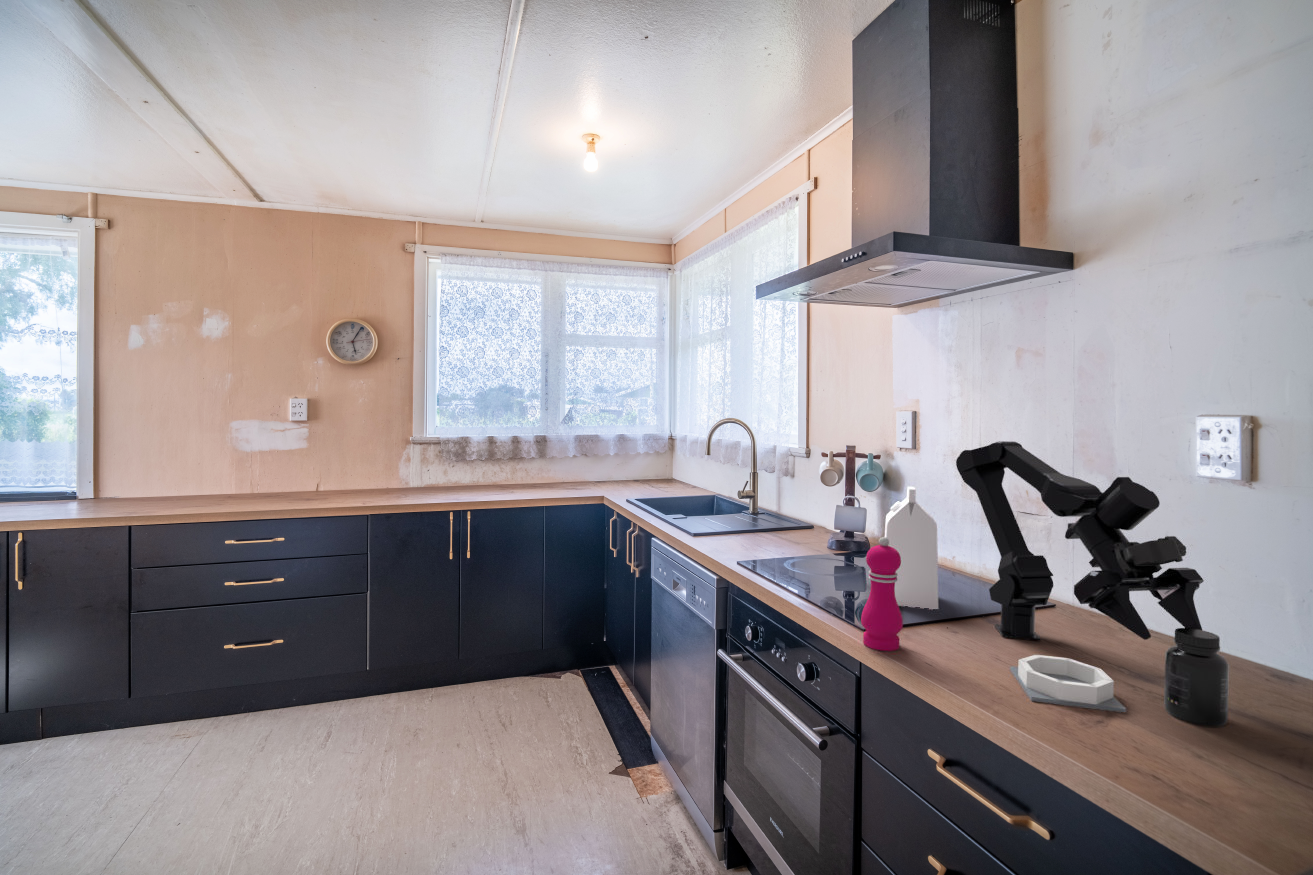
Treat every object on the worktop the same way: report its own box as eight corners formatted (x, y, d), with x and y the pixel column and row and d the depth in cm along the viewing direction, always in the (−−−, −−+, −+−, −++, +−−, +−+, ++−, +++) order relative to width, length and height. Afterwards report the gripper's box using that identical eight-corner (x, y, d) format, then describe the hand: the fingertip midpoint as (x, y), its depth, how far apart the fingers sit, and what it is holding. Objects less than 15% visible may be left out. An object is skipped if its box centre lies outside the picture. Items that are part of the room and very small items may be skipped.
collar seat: (1009, 669, 103) (1010, 651, 103) (1093, 679, 99) (1093, 660, 99) (1031, 700, 91) (1032, 680, 91) (1126, 712, 88) (1127, 691, 88)
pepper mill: (852, 640, 115) (855, 534, 115) (883, 636, 118) (886, 532, 117) (878, 654, 109) (881, 541, 108) (910, 649, 111) (914, 539, 111)
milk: (938, 609, 135) (941, 492, 134) (882, 604, 139) (885, 489, 138) (932, 595, 147) (936, 486, 146) (881, 590, 150) (884, 484, 149)
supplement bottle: (1195, 705, 91) (1199, 624, 91) (1241, 728, 84) (1245, 641, 84) (1150, 705, 91) (1154, 624, 90) (1192, 728, 84) (1196, 641, 83)
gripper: (1091, 518, 93) (1161, 612, 83) (1192, 516, 97) (1272, 607, 86) (1048, 558, 101) (1106, 649, 91) (1143, 555, 105) (1210, 643, 94)
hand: (1174, 636), depth 90 cm, fingers open, 9 cm apart
